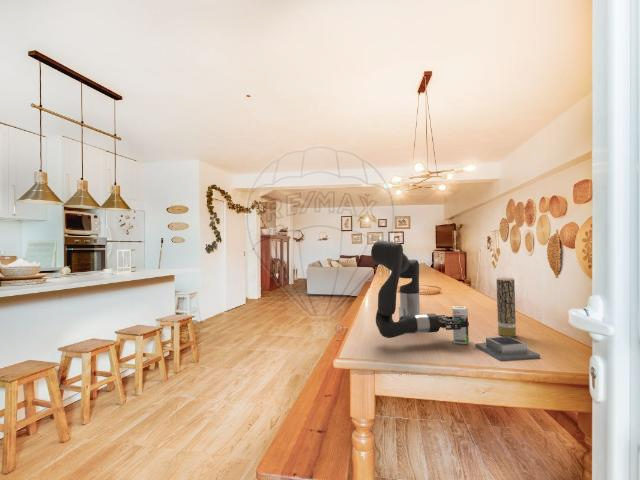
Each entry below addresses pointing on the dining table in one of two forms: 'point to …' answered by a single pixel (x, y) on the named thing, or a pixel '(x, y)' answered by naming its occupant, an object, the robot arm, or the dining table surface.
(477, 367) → the dining table surface
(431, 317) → the robot arm
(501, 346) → the duct collar
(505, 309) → the bark pattern cylinder
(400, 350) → the dining table surface
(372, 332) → the dining table surface
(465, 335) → the syrup box
